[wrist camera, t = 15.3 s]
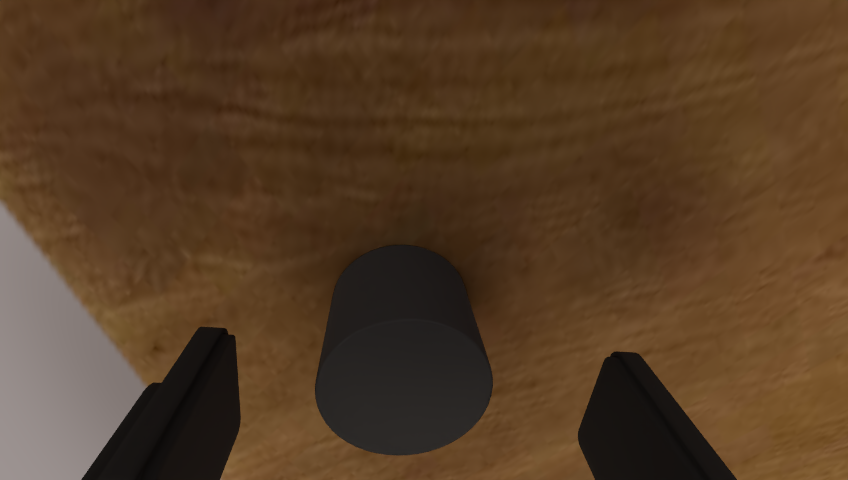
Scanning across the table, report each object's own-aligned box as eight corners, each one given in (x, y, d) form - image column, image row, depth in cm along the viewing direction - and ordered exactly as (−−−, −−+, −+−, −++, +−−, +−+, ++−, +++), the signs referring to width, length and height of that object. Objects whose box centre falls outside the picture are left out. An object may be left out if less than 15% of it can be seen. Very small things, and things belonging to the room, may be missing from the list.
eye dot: (330, 354, 15) (313, 455, 11) (335, 239, 13) (316, 314, 10) (455, 360, 16) (476, 457, 12) (476, 249, 14) (509, 324, 10)
